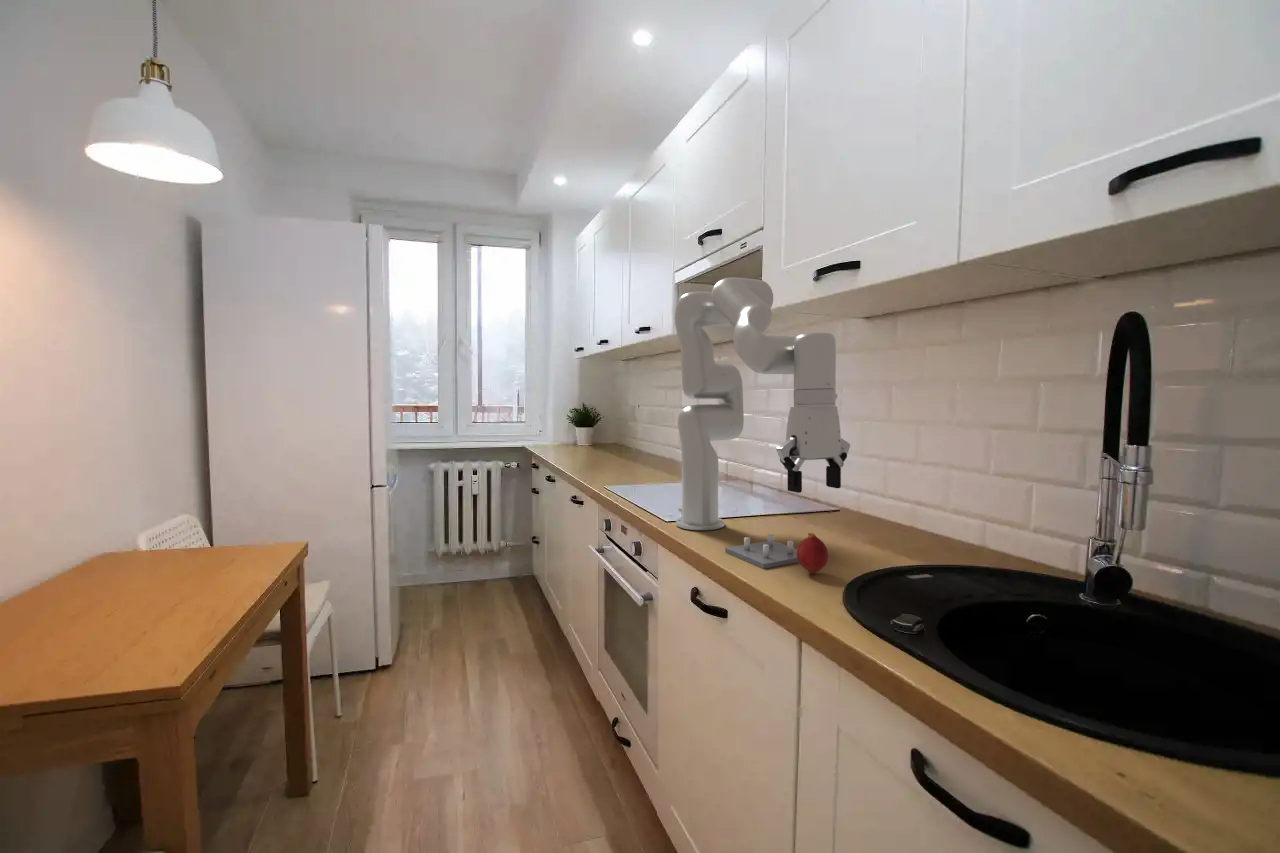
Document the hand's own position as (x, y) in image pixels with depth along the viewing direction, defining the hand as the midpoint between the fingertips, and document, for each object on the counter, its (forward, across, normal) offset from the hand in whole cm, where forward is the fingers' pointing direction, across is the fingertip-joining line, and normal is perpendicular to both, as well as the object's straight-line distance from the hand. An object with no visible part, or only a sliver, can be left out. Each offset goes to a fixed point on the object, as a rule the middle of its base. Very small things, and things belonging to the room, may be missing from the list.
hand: (814, 489), depth 107 cm
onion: (+17, 0, -1) cm, 17 cm away
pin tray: (+16, 0, -14) cm, 21 cm away
